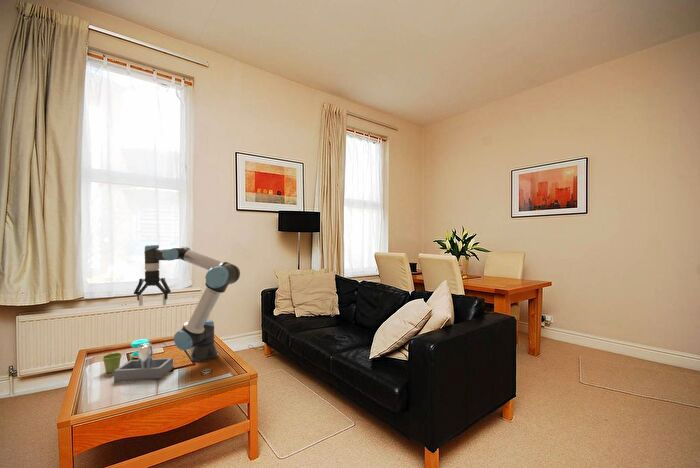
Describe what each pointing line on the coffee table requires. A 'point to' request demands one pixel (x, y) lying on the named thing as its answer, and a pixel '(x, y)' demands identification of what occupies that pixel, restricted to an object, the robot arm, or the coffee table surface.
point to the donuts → (138, 343)
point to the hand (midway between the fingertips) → (152, 305)
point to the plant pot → (112, 361)
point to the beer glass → (145, 355)
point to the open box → (143, 370)
